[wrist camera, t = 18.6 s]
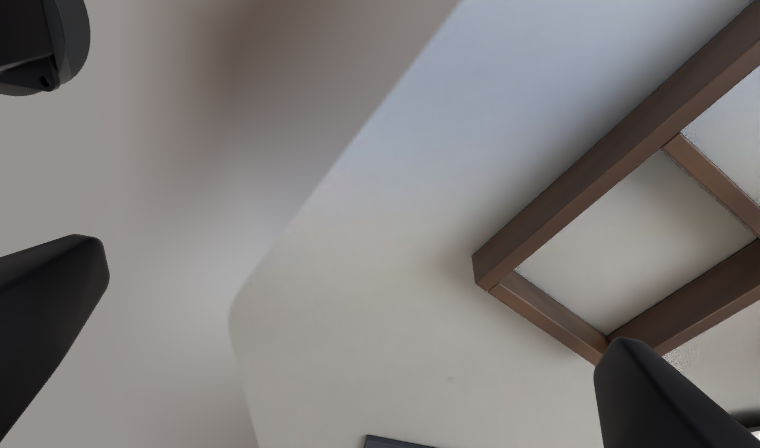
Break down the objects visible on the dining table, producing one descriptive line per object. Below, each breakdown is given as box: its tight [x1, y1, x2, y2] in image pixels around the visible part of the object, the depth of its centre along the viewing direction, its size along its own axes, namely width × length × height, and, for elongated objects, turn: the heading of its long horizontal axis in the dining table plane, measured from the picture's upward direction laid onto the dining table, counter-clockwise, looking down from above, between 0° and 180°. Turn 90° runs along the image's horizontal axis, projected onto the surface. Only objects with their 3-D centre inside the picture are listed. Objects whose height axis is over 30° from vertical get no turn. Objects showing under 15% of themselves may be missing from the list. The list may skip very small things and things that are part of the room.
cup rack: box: [472, 0, 760, 366], centre depth 18 cm, size 10×19×2 cm, turn 144°
